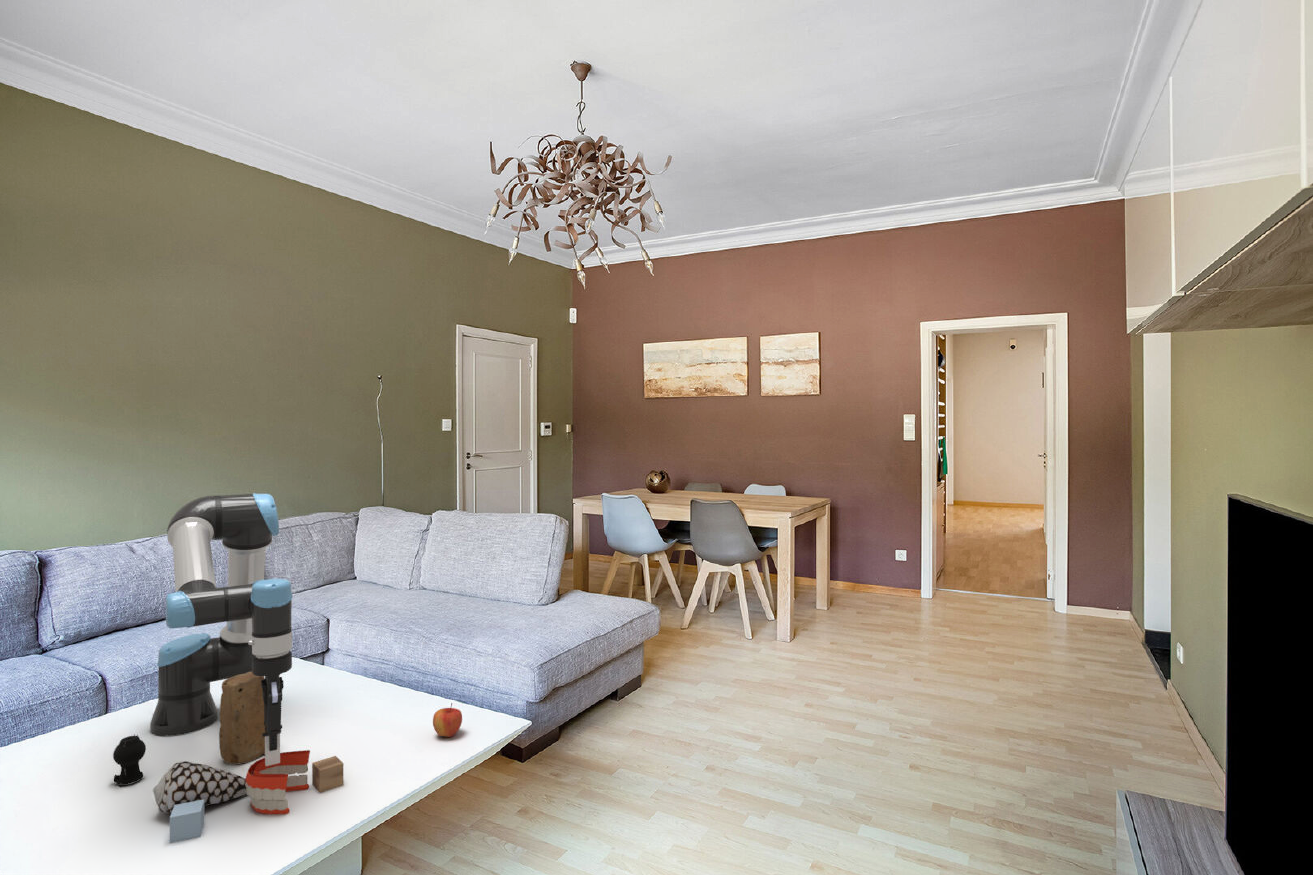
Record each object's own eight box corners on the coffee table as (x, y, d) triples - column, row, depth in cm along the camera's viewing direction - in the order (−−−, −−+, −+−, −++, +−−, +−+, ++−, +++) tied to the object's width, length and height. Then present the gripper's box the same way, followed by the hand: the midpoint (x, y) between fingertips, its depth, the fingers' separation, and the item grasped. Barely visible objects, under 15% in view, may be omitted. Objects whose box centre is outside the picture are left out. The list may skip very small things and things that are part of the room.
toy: (262, 787, 153) (262, 751, 153) (311, 785, 154) (311, 749, 154) (233, 818, 141) (233, 779, 141) (286, 815, 142) (286, 777, 142)
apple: (426, 739, 177) (426, 708, 177) (445, 728, 184) (445, 698, 184) (449, 744, 174) (449, 712, 174) (468, 732, 181) (467, 702, 181)
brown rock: (231, 769, 161) (231, 684, 161) (216, 761, 165) (216, 678, 165) (278, 751, 170) (278, 671, 170) (262, 744, 174) (262, 665, 174)
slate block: (174, 830, 137) (174, 805, 137) (204, 823, 139) (204, 799, 139) (169, 843, 132) (169, 817, 132) (200, 836, 134) (200, 811, 134)
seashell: (184, 829, 137) (184, 779, 137) (141, 817, 141) (141, 768, 141) (258, 790, 152) (258, 745, 152) (217, 779, 156) (217, 736, 156)
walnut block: (312, 784, 154) (312, 762, 154) (335, 777, 158) (335, 755, 158) (319, 793, 151) (319, 770, 151) (343, 785, 154) (343, 762, 154)
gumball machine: (119, 776, 158) (119, 733, 158) (150, 771, 160) (150, 729, 160) (108, 790, 152) (108, 745, 152) (141, 785, 154) (140, 740, 154)
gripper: (249, 648, 150) (250, 756, 150) (254, 664, 140) (254, 780, 140) (288, 642, 155) (288, 747, 155) (295, 657, 144) (296, 770, 144)
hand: (272, 763), depth 147 cm, fingers closed, pressing on toy
